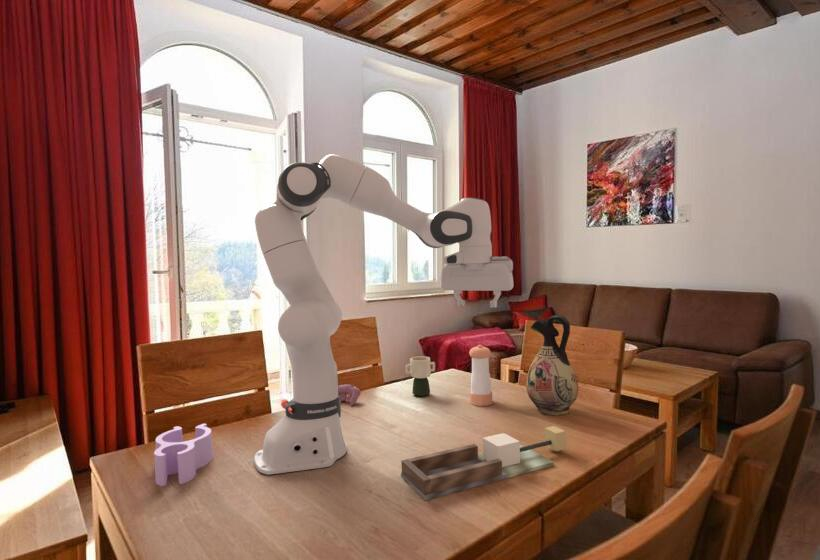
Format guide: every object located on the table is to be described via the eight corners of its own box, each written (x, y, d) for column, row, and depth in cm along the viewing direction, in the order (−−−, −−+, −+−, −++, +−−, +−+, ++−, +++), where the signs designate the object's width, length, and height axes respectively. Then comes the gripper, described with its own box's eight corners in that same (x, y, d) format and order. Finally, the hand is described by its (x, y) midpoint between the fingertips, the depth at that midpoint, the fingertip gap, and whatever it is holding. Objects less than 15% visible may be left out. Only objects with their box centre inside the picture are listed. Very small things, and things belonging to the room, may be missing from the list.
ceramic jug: (516, 412, 150) (514, 315, 148) (542, 400, 161) (540, 309, 159) (568, 424, 138) (567, 318, 136) (592, 411, 149) (591, 313, 147)
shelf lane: (425, 500, 98) (425, 481, 98) (401, 476, 109) (400, 459, 109) (553, 465, 112) (553, 449, 112) (520, 447, 123) (520, 432, 122)
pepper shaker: (475, 407, 156) (474, 347, 155) (466, 400, 163) (465, 343, 162) (496, 404, 158) (495, 345, 157) (486, 398, 165) (485, 342, 164)
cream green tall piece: (432, 390, 176) (431, 354, 175) (439, 395, 169) (438, 358, 169) (403, 394, 173) (402, 357, 172) (409, 399, 166) (408, 361, 165)
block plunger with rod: (498, 468, 109) (497, 446, 109) (483, 458, 114) (482, 437, 114) (568, 450, 118) (568, 429, 117) (551, 441, 123) (551, 422, 123)
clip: (202, 482, 109) (200, 451, 109) (141, 489, 107) (139, 458, 106) (217, 448, 129) (216, 422, 129) (166, 453, 126) (164, 427, 126)
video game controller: (359, 408, 164) (363, 387, 166) (351, 405, 160) (356, 384, 163) (336, 404, 169) (341, 384, 171) (328, 401, 165) (333, 381, 168)
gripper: (516, 255, 133) (517, 306, 134) (446, 257, 143) (448, 304, 143) (509, 256, 128) (510, 308, 128) (438, 258, 137) (439, 307, 138)
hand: (477, 306), depth 136 cm, fingers open, 8 cm apart
